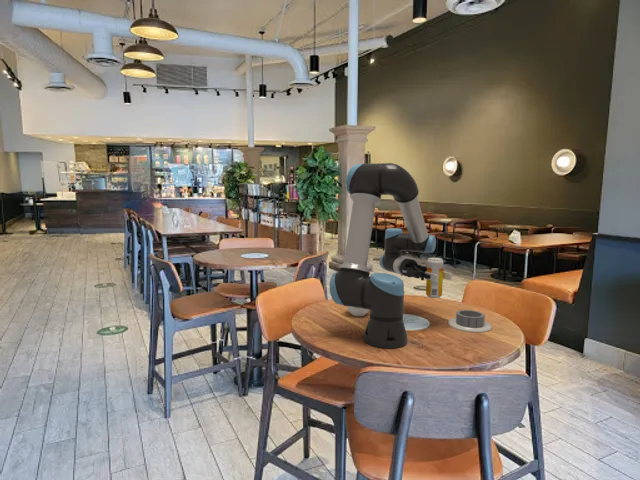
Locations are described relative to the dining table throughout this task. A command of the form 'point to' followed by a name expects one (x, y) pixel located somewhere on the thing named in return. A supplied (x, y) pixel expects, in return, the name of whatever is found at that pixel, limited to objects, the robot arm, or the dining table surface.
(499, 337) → the dining table surface
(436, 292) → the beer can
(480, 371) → the dining table surface
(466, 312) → the collar stand
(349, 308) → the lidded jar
